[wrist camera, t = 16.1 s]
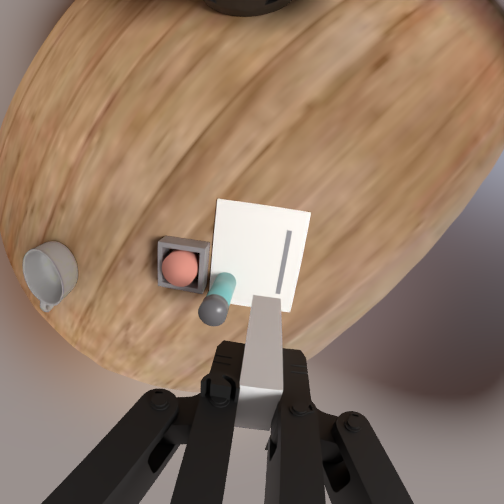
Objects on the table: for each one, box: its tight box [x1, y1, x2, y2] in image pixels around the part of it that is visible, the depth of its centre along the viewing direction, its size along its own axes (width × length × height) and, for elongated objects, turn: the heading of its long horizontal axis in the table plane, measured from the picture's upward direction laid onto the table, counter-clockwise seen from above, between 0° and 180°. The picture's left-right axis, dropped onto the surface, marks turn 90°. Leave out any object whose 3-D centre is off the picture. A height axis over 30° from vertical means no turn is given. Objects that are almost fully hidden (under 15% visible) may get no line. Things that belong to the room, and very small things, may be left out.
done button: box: [162, 249, 200, 287], centre depth 39 cm, size 5×5×3 cm
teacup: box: [23, 241, 78, 312], centre depth 40 cm, size 14×11×8 cm
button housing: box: [158, 236, 210, 294], centre depth 39 cm, size 7×7×3 cm
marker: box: [198, 272, 236, 326], centre depth 36 cm, size 3×3×10 cm
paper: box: [209, 199, 311, 312], centre depth 40 cm, size 16×13×1 cm
